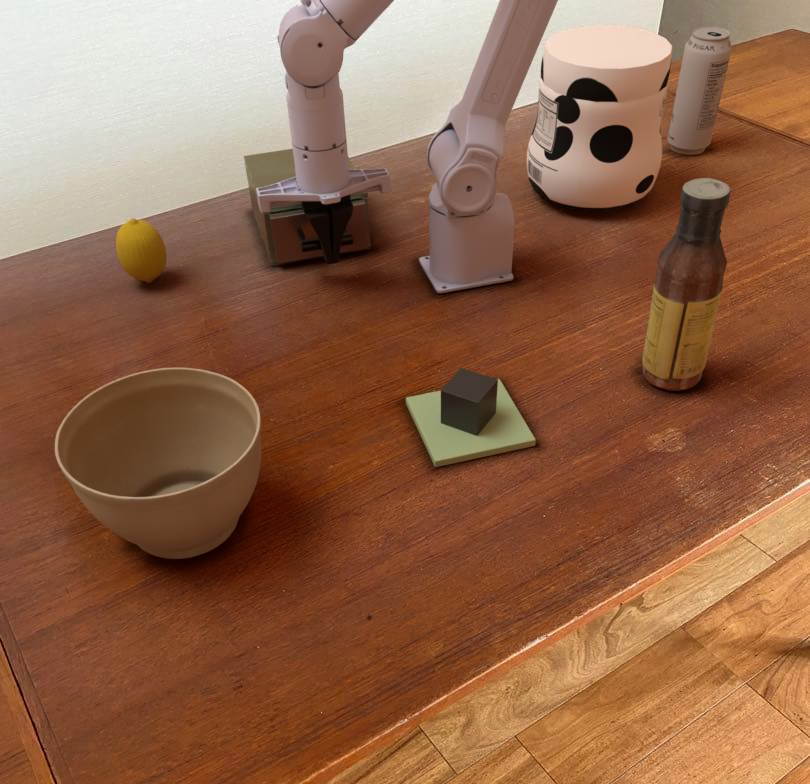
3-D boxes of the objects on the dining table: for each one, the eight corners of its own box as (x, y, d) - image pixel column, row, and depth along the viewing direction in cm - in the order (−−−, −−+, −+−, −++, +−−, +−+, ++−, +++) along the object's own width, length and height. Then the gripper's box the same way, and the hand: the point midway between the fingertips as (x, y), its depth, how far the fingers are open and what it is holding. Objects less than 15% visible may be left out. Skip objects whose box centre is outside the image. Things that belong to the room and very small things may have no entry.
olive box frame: (371, 249, 108) (367, 190, 102) (271, 266, 106) (262, 207, 100) (344, 198, 118) (339, 141, 112) (253, 212, 116) (243, 155, 110)
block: (459, 400, 86) (460, 367, 83) (496, 412, 85) (498, 379, 82) (440, 423, 84) (440, 390, 81) (477, 436, 82) (478, 402, 79)
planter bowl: (196, 620, 69) (164, 527, 61) (56, 544, 75) (10, 451, 67) (314, 498, 78) (300, 403, 70) (180, 439, 84) (153, 345, 76)
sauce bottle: (704, 363, 90) (755, 175, 76) (697, 399, 86) (749, 208, 72) (641, 353, 92) (678, 167, 77) (631, 387, 88) (669, 198, 73)
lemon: (162, 296, 102) (145, 232, 96) (119, 292, 103) (99, 229, 97) (179, 271, 106) (164, 209, 100) (137, 268, 107) (120, 206, 101)
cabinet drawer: (377, 265, 104) (374, 219, 99) (283, 281, 102) (276, 235, 98) (343, 199, 115) (340, 156, 111) (259, 213, 114) (252, 169, 109)
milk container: (673, 180, 118) (703, 35, 105) (623, 235, 109) (649, 83, 95) (558, 154, 125) (572, 14, 112) (501, 203, 115) (509, 56, 102)
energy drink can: (682, 135, 128) (705, 21, 117) (717, 147, 125) (744, 32, 114) (657, 147, 125) (678, 33, 114) (692, 160, 122) (717, 43, 111)
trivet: (499, 384, 89) (499, 378, 88) (535, 446, 82) (536, 439, 82) (405, 403, 87) (405, 397, 87) (435, 467, 81) (435, 461, 80)
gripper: (256, 166, 86) (275, 287, 96) (396, 144, 89) (401, 265, 99) (245, 138, 91) (265, 257, 101) (378, 119, 93) (384, 236, 103)
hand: (331, 259), depth 100 cm, fingers closed, pressing on cabinet drawer
